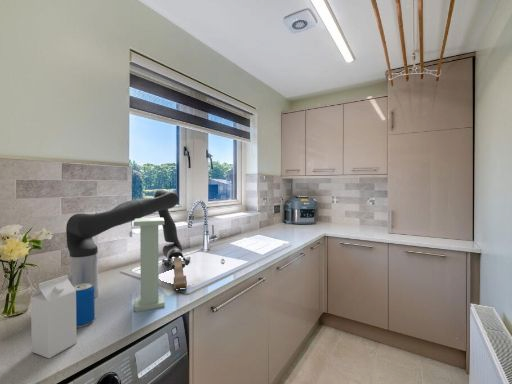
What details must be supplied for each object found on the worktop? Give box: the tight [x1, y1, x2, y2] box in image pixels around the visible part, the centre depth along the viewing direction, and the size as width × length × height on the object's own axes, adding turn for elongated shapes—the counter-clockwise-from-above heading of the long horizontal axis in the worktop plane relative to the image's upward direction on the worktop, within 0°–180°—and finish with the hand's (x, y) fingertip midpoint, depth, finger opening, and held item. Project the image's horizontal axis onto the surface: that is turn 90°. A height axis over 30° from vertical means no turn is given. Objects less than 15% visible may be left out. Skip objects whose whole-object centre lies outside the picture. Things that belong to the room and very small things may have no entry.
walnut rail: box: [173, 257, 188, 291], centre depth 115 cm, size 16×5×4 cm
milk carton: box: [30, 274, 77, 359], centre depth 70 cm, size 7×7×19 cm
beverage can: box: [74, 283, 96, 328], centre depth 82 cm, size 6×6×12 cm
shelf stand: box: [133, 217, 166, 312], centre depth 95 cm, size 9×10×32 cm
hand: (178, 266), depth 116 cm, fingers closed on walnut rail, 3 cm apart
